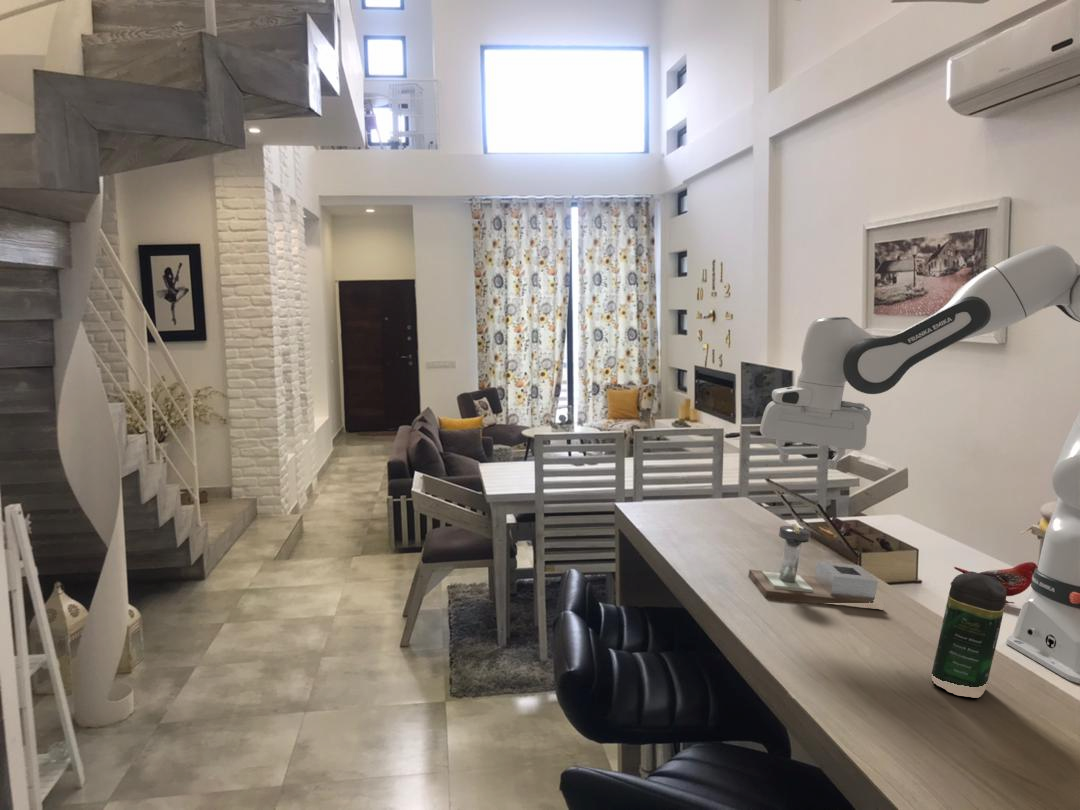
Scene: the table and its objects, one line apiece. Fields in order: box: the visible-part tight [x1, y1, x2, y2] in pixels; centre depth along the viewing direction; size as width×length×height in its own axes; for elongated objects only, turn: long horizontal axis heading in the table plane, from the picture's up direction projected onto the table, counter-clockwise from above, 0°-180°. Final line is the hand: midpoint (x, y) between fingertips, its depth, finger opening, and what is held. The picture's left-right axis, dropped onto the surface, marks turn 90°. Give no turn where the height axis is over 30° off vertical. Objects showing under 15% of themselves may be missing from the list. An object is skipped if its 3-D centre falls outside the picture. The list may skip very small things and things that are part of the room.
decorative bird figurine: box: [953, 561, 1038, 605], centre depth 174 cm, size 3×18×10 cm, turn 81°
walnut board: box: [748, 569, 874, 604], centre depth 165 cm, size 12×24×2 cm, turn 92°
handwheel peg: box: [778, 523, 811, 583], centre depth 164 cm, size 6×6×11 cm
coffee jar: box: [931, 571, 1007, 687], centre depth 128 cm, size 10×8×19 cm
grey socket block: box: [813, 560, 879, 600], centre depth 165 cm, size 9×9×4 cm
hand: (807, 465), depth 162 cm, fingers open, 8 cm apart
